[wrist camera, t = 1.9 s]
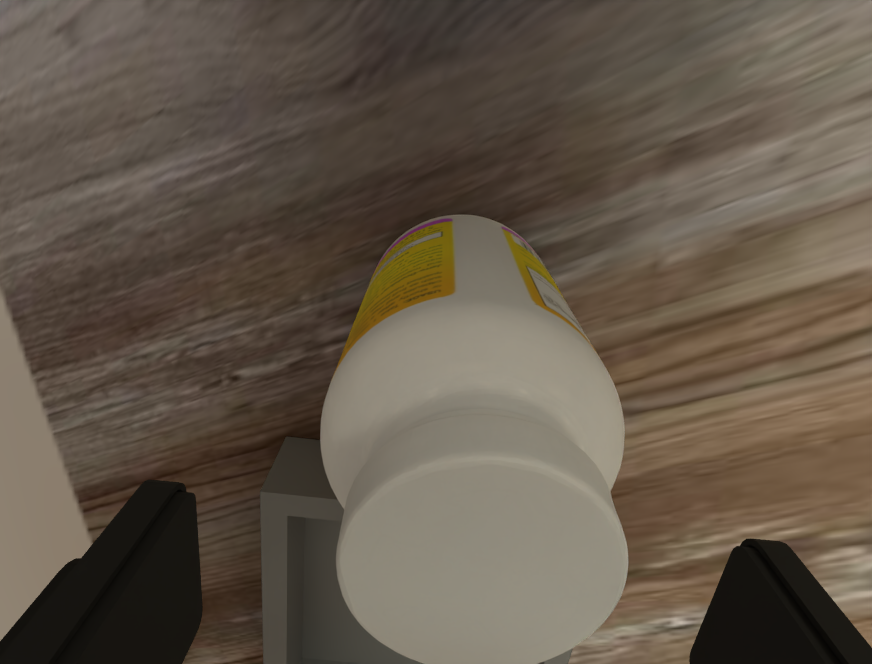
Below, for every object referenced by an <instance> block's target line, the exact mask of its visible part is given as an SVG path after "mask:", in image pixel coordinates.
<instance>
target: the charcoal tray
mask: <svg viewBox="0 0 872 664" xmlns="http://www.w3.org/2000/svg"><path fill="white" fill-rule="evenodd" d="M343 514H344V508H343V507H342V506H341V504H340V503H339V501H338V499H337V497H336V495H335V493H334V492H333V490H332V488H331V486H330V483H329V480H328V478H327V475H326V472H325V468H324V465H323V459H322V453H321V445H320V440H315V439H306V438H296V437H287V436H286V438H285V440H284V442H283V444H282V446H281V448H280V451H279V453H278V455H277V457H276V459H275V461H274V463H273V465H272V467H271V469H270V472H269V474H268V476H267V478H266V480H265V482H264V484H263V486H262V488H261V490H260V522H261V572H262V621H263V664H423V663H421V662H418V661H415V660H412V659H410V658H408V657H405V656H403V655H401V654H399V653H397V652H395V651H394V650H392V649H390V648H389V647H387V646H385V645H384V644H382V643H381V642H379V641H378V640H377V639H375V638H374V637H373V636H372V635H371V634H369V633H368V632H367V631H366V630H365V629H364V628H363V627H362V626H361V625H360V623H359V622H358V621H357V620H356V618H355V617H354V616H353V614H352V613H351V611H350V610H349V608H348V606H347V604H346V602H345V600H344V598H343V596H342V593H341V589H340V586H339V582H338V578H337V569H336V550H337V544H338V539H339V534H340V529H341V524H342V519H343ZM572 649H573V648H572ZM572 649H570V650H568V651H566V652H564V653H563V654H560V655H558V656H556V657H554V658H552V659H549V660H546V661H544V662H541V663H538V664H568V662H569V659H570V656H571V652H572Z"/></svg>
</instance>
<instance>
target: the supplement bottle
mask: <svg viewBox="0 0 872 664" xmlns="http://www.w3.org/2000/svg"><path fill="white" fill-rule="evenodd" d="M624 437H625V428H624V418H623V412H622V407H621V403H620V399H619V396H618V393H617V390H616V388H615V385H614V383H613V381H612V379H611V377H610V375H609V373H608V371H607V369H606V367H605V366H604V364H603V362H602V360H601V358H600V357H599V355H598V354H597V352H596V350H595V349H594V348H593V346H592V344H591V342H590V341H589V339H588V338H587V336H586V335H585V333H584V331H583V329H582V328H581V326H580V324H579V323H578V321H577V319H576V318H575V316H574V315H573V313H572V311H571V309H570V308H569V306H568V304H567V303H566V301H565V299H564V298H563V296H562V294H561V292H560V291H559V289H558V287H557V285H556V284H555V282H554V280H553V279H552V277H551V275H550V274H549V272H548V270H547V269H546V267H545V266H544V264H543V262H542V261H541V259H540V258H539V256H538V255H537V254H536V252H535V251H534V250H533V249H532V247H531V246H530V245H529V244H528V243H527V242H526V241H525V240H524V239H523V238H522V237H521V236H520V235H518V234H517V233H516V232H514V231H513V230H512V229H510V228H508V227H506V226H505V225H503V224H501V223H498V222H496V221H494V220H491V219H488V218H484V217H480V216H475V215H447V216H442V217H437V218H433V219H430V220H428V221H425V222H422V223H420V224H418V225H416V226H415V227H413V228H411V229H409V230H408V231H406V232H405V233H404V234H403V235H401V236H400V237H399V238H398V239H397V240H395V242H394V243H393V244H392V245H391V246H390V247H389V248H388V249H387V251H386V252H385V253H384V255H383V256H382V258H381V259H380V261H379V263H378V265H377V267H376V269H375V271H374V273H373V276H372V278H371V281H370V283H369V286H368V288H367V291H366V293H365V296H364V298H363V301H362V303H361V306H360V309H359V311H358V314H357V316H356V319H355V321H354V323H353V327H352V329H351V331H350V334H349V337H348V339H347V342H346V345H345V347H344V350H343V352H342V355H341V357H340V360H339V362H338V365H337V367H336V370H335V372H334V375H333V377H332V380H331V383H330V386H329V389H328V392H327V395H326V398H325V402H324V405H323V411H322V417H321V431H320V445H321V453H322V459H323V465H324V468H325V472H326V475H327V478H328V480H329V483H330V486H331V488H332V490H333V492H334V493H335V495H336V497H337V499H338V501H339V503H340V504H341V506H342V507H343V508H344V514H343V519H342V524H341V529H340V534H339V539H338V544H337V550H336V569H337V578H338V582H339V586H340V589H341V593H342V596H343V598H344V600H345V602H346V604H347V606H348V608H349V610H350V611H351V613H352V614H353V616H354V617H355V618H356V620H357V621H358V622H359V623H360V625H361V626H362V627H363V628H364V629H365V630H366V631H367V632H368V633H369V634H371V635H372V636H373V637H374V638H375V639H377V640H378V641H379V642H381V643H382V644H384V645H385V646H387V647H389V648H390V649H392V650H394V651H395V652H397V653H399V654H401V655H403V656H405V657H408V658H410V659H412V660H415V661H418V662H421V663H423V664H538V663H541V662H544V661H546V660H549V659H552V658H554V657H556V656H558V655H560V654H563V653H564V652H566V651H568V650H570V649H572V648H574V647H575V646H576V645H578V644H579V643H581V642H582V641H583V640H585V639H586V638H588V637H589V636H590V635H591V634H593V633H594V632H595V631H596V630H597V629H598V628H599V627H600V626H601V625H602V624H603V623H604V622H605V621H606V619H607V618H608V617H609V616H610V614H611V613H612V611H613V610H614V608H615V606H616V605H617V603H618V601H619V599H620V598H621V595H622V592H623V589H624V586H625V582H626V579H627V571H628V549H627V542H626V539H625V535H624V532H623V529H622V526H621V523H620V520H619V518H618V515H617V512H616V510H615V507H614V504H613V501H612V497H611V493H610V491H611V489H612V487H613V485H614V482H615V480H616V478H617V475H618V472H619V470H620V467H621V462H622V457H623V452H624Z"/></svg>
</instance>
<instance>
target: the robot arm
mask: <svg viewBox="0 0 872 664" xmlns="http://www.w3.org/2000/svg"><path fill="white" fill-rule="evenodd" d="M201 617H202V591H201V575H200V559H199V543H198V527H197V511H196V498H195V495H194V493H189V492H186V487H185V485H184V484H183V483H179V482H169V481H158V480H147V481H145V482H144V483H142V484H141V485H140V487H139V488H138V489H137V490H136V492H135V493H134V494H133V495H132V497H131V498H130V499H129V500H128V501H127V503H126V504H125V505H124V506H123V508H122V509H121V510H120V511H119V513H118V514H117V515H116V516H115V517H114V519H113V520H112V521H111V522H110V524H109V525H108V526H107V527H106V528H105V530H104V531H103V532H102V533H101V535H100V536H99V537H98V538H97V540H96V541H95V542H94V543H93V544H92V546H91V547H90V548H89V549H88V551H87V552H86V553H85V554H84V556H83V557H82V558H81V559H74V560H72V561H70V562H69V563H67V564H66V565H65V566H64V567H63V568H62V569H61V570H60V571H59V572H58V573H57V575H56V576H55V577H54V578H53V579H52V580H51V582H50V583H49V584H48V585H47V586H46V588H45V589H44V590H43V591H42V592H41V594H40V595H39V596H38V597H37V598H36V600H35V601H34V602H33V603H32V604H31V605H30V607H29V608H28V609H27V610H26V611H25V613H24V614H23V615H22V616H21V617H20V619H19V620H18V621H17V622H16V623H15V625H14V626H13V627H12V628H11V629H10V631H9V632H8V633H7V634H6V635H5V636H4V638H3V639H2V640H1V641H0V664H182V663H183V661H184V659H185V656H186V654H187V652H188V650H189V648H190V646H191V644H192V642H193V640H194V637H195V635H196V633H197V631H198V628H199V625H200V621H201ZM690 664H872V648H871V646H870V645H869V644H868V643H867V642H866V640H865V639H864V638H863V637H862V635H861V634H860V633H859V632H858V630H857V629H856V628H855V627H854V626H853V624H852V623H851V622H850V621H849V619H848V618H847V617H846V616H845V614H844V613H843V612H842V611H841V610H840V608H839V607H838V606H837V605H836V603H835V602H834V601H833V600H832V598H831V597H830V596H829V595H828V594H827V592H826V591H825V590H824V589H823V587H822V586H821V585H820V584H819V582H818V581H817V580H816V579H815V578H814V576H813V575H812V574H811V573H810V571H809V570H808V569H807V568H806V566H805V565H804V564H803V563H802V562H801V560H800V559H799V558H798V557H797V555H796V554H795V553H794V552H793V550H792V549H791V548H790V547H789V546H788V545H787V544H785V543H783V542H780V541H770V540H760V539H746V540H744V541H743V542H742V544H741V545H740V546H736V547H735V548H734V549H733V550H732V552H731V554H730V557H729V559H728V562H727V564H726V567H725V569H724V571H723V574H722V576H721V579H720V581H719V584H718V586H717V588H716V591H715V593H714V596H713V598H712V601H711V603H710V605H709V608H708V610H707V613H706V615H705V618H704V620H703V623H702V625H701V627H700V630H699V632H698V635H697V637H696V640H695V642H694V644H693V647H692V649H691V652H690Z"/></svg>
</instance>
